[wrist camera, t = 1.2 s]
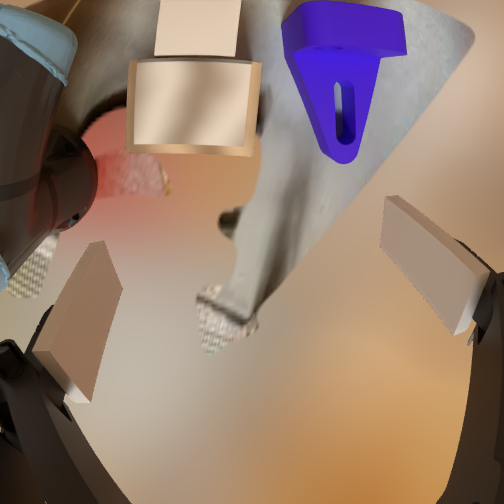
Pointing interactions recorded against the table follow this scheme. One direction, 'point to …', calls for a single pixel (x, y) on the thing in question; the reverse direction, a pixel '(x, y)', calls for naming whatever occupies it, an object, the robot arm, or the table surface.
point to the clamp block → (192, 106)
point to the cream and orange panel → (197, 28)
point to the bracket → (339, 65)
